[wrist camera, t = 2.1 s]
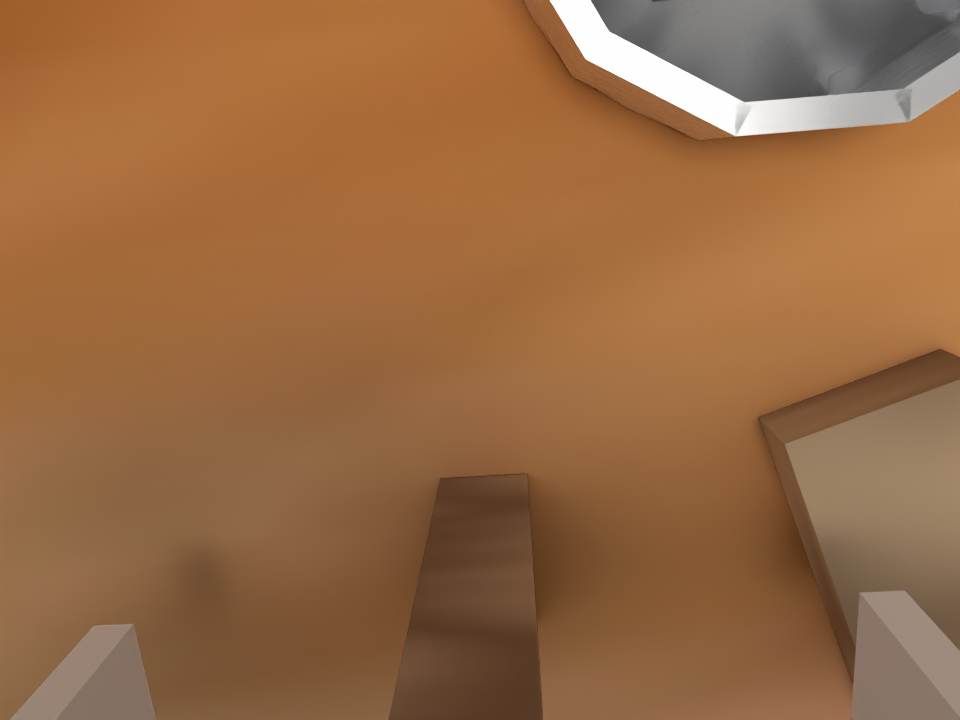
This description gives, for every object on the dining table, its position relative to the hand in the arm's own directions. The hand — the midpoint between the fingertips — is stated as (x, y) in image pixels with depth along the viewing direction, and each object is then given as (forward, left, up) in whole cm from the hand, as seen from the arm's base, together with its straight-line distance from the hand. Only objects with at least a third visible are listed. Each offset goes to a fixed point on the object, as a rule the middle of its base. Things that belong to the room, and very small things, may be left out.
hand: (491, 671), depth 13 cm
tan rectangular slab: (+10, -2, -5) cm, 11 cm away
